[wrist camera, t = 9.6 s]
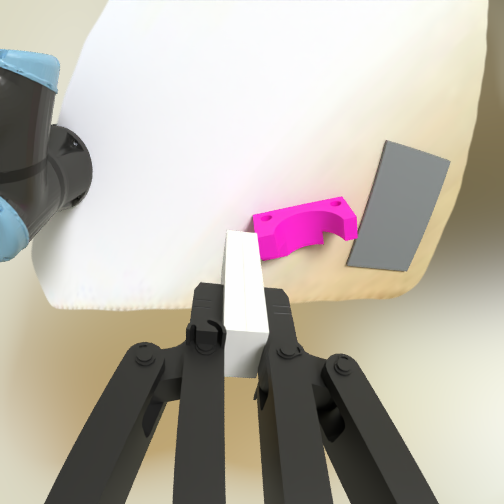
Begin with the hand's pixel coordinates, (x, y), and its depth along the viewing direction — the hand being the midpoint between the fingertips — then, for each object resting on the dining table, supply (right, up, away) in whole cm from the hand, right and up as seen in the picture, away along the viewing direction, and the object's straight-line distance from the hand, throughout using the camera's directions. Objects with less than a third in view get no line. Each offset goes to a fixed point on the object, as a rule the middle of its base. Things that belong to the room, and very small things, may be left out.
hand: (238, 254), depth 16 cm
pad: (+27, +7, +36) cm, 45 cm away
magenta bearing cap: (+9, +5, +36) cm, 38 cm away
